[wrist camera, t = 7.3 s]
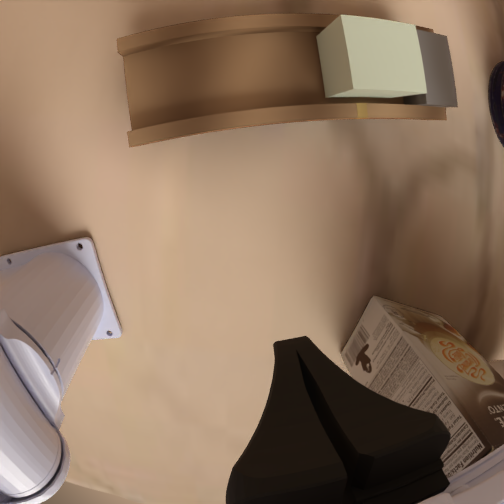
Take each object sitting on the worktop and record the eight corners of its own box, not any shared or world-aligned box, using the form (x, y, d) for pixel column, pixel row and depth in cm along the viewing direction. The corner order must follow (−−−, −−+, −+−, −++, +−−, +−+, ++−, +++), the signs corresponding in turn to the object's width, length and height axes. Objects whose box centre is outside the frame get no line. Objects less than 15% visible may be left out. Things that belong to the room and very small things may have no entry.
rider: (325, 97, 15) (353, 89, 11) (316, 36, 14) (340, 14, 10) (389, 98, 15) (426, 93, 12) (380, 40, 14) (415, 24, 10)
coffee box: (442, 313, 25) (550, 425, 10) (409, 366, 27) (490, 487, 12) (370, 292, 23) (497, 449, 8) (335, 356, 25) (413, 520, 10)
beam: (146, 145, 18) (121, 148, 13) (135, 55, 16) (108, 30, 11) (412, 120, 19) (461, 121, 14) (401, 41, 17) (446, 24, 12)
